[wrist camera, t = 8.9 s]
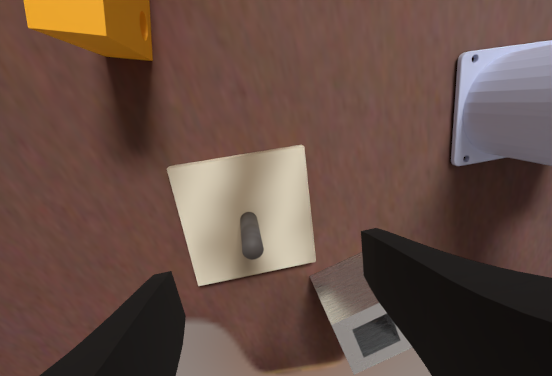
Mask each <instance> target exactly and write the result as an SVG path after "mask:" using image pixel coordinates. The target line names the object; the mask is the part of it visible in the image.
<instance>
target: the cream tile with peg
mask: <svg viewBox="0 0 552 376" xmlns="http://www.w3.org/2000/svg"><path fill="white" fill-rule="evenodd" d="M167 172H168V175H169V179H170V183H171V186H172V190H173V194H174V197H175V201H176V205H177V209H178V212H179V216H180V220H181V223H182V227H183V231H184V234H185V238H186V242H187V245H188V249H189V253H190V257H191V260H192V264H193V268H194V271H195V275H196V279H197V282H198V286H202V285H207V284H212V283H216V282H221V281H226V280H231V279H235V278H240V277H245V276H250V275H254V274H259V273H264V272H269V271H273V270H278V269H283V268H288V267H292V266H297V265H302V264H307V263H311V262H316V257H315V247H314V237H313V228H312V218H311V208H310V199H309V189H308V179H307V170H306V160H305V150H304V146H302V145H297V146H291V147H285V148H278V149H272V150H266V151H260V152H254V153H248V154H242V155H236V156H229V157H223V158H217V159H211V160H205V161H199V162H193V163H187V164H180V165H174V166H169V167H168V168H167Z"/></svg>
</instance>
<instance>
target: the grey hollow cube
mask: <svg viewBox="0 0 552 376" xmlns="http://www.w3.org/2000/svg"><path fill="white" fill-rule="evenodd" d="M310 278H311V281H312V283H313V285H314V287H315V290H316V292H317V294H318V296H319V299H320V301H321V303H322V305H323V307H324V310H325V312H326V314H327V316H328V319H329V321H330V323H331V325H332V328H333V330H334V332H335V334H336V336H337V339H338V341H339V343H340V345H341V347H342V350H343V352H344V354H345V356H346V358H347V361H348V362H349V365H350V367H351V369H352V372H353V374H354V375H355V374H357V373H359V372H361V371H363V370H365V369H367V368H370V367H372V366H374V365H376V364H378V363H380V362H382V361H385V360H387V359H389V358H391V357H393V356H395V355H397V354H399V353H401V352H404V351H406V350H408V349H410V348H412V346H411V344H410V343H409V342H408V340H407V339H406V338H405V337H404V335H403V334H402V333H401V331H400V330H399V329H398V327H397V326H396V325H395V323H394V322H393V321H392V319H391V318H390V317H389V315H388V314H387V313H386V311H385V310H384V309H383V307H382V306H381V304H380V303H379V302H378V300H377V299H376V297H375V296H374V294H373V292H372V290H371V289H370V287H369V285H368V283H367V281H366V280H365V278H364V275H363V256H362V252H361V253H359V254H357V255H355V256H353V257H351V258H348V259H346V260H344V261H342V262H340V263H338V264H335V265H333V266H331V267H329V268H327V269H325V270H322V271H320V272H318V273H316V274H314V275H311V276H310Z"/></svg>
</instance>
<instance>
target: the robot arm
mask: <svg viewBox="0 0 552 376" xmlns="http://www.w3.org/2000/svg"><path fill="white" fill-rule="evenodd" d="M472 56H473V57H474V60H473V62H472ZM464 157H465V159H464V161H463V158H464ZM507 157H509V158H514V159H519V160H524V161H529V162H534V163H539V164H544V165H549V166H552V40H550V41H543V42H535V43H528V44H521V45H513V46H506V47H498V48H491V49H484V50H476V51H469V52H465V53H462V54H461V55H460V56H459V58H458V64H457V79H456V93H455V108H454V123H453V137H452V152H451V163H452V164H453V165H455V166H463V165H468V164H474V163H479V162H485V161H490V160H496V159H501V158H507ZM361 238H362V256H363V275H364V278H365V280H366V281H367V283H368V285H369V287H370V289H371V290H372V292H373V294H374V296H375V297H376V299H377V300H378V302H379V303H380V304H381V306H382V307H383V309H384V310H385V311H386V313H387V314H388V315H389V317H390V318H391V319H392V321H393V322H394V323H395V325H396V326H397V327H398V329H399V330H400V331H401V333H402V334H403V335H404V337H405V338H406V339H407V340H408V342H409V343H410V344H411V346H412V347H413V348H414V350H415V351H416V352H417V354H418V355H419V357H420V358H421V360H422V361H423V363H424V364H425V366H426V367H427V369H428V370H429V372H430V373H431V375H432V376H552V278H549V277H544V276H539V275H533V274H528V273H523V272H518V271H513V270H508V269H504V268H500V267H496V266H492V265H488V264H484V263H480V262H476V261H472V260H469V259H465V258H462V257H459V256H456V255H452V254H449V253H446V252H443V251H440V250H437V249H434V248H431V247H428V246H426V245H423V244H420V243H417V242H415V241H412V240H409V239H407V238H404V237H401V236H399V235H396V234H393V233H390V232H388V231H385V230H381V229H378V228H374V229H369V230H365V231H361ZM185 317H186V316H185V313H184V310H183V307H182V303H181V300H180V297H179V294H178V291H177V288H176V284H175V281H174V278H173V275H172V272H171V271H170V272H165V273H160V274H155V275H153V276H152V277H151V278H150V279H148V280H147V281H146V282H145V283H144V284H143V285H142V286H141V287H140V288H139V289H138V290H137V291H136V292H135V293H134V294H133V295H132V296H131V297H130V298H129V299H127V300H126V301H125V302H124V303H123V304H122V305H121V306H120V307H119V308H118V309H117V310H116V311H115V312H114V313H113V314H112V315H111V316H110V317H109V318H108V319H106V320H105V321H104V322H103V323H102V324H101V325H100V326H99V327H97V328H96V329H95V330H94V331H93V332H92V333H91V334H90V335H89V336H87V337H86V338H85V339H84V340H83V341H82V342H81V343H80V344H78V345H77V346H76V347H75V348H74V349H72V350H71V351H70V352H69V353H68V354H66V355H65V356H64V357H63V358H61V359H60V360H59V361H58V362H56V363H55V364H54V365H52V366H51V367H50V368H49V369H47V370H46V371H45V372H44V373H42V374H41V375H40V376H176V372H177V367H178V363H179V359H180V354H181V350H182V345H183V337H184V328H185Z"/></svg>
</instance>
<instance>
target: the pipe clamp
mask: <svg viewBox="0 0 552 376" xmlns="http://www.w3.org/2000/svg"><path fill="white" fill-rule="evenodd" d="M24 5H25V11H26V17H27V23H28V28H30V29H33V30H36V31H38V32H41V33H44V34H46V35H49V36H52V37H54V38H57V39H60V40H62V41H65V42H68V43H70V44H73V45H76V46H78V47H81V48H84V49H87V50H89V51H92V52H95V53H97V54H100V55H103V56H105V57H116V58H127V59H138V60H148V61H153V58H152V40H151V22H150V4H149V0H24Z"/></svg>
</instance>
